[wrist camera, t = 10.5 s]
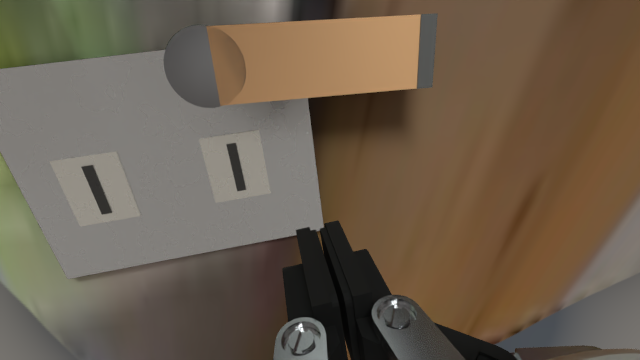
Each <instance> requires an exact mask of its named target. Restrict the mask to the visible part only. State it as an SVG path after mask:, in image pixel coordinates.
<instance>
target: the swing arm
mask: <svg viewBox="0 0 640 360" xmlns="http://www.w3.org/2000/svg"><path fill="white" fill-rule="evenodd" d="M436 27H437V14H421V15H404V16H385V17H367V18H348V19H330V20H311V21H293V22H274V23H256V24H237V25H219V26H207V25H193V26H189V27H186V28H184V29H182V30H180V31H179V32H177V33H176V34H175V35H174V36H173V37H172V38H171V39H170V41H169V43H168V44H167V47H166V49H165V53H164V70H165V74H166V77H167V79H168V82H169V83H170V85H171V87H172V88H173V89H174V91H175V92H176V93H177V94H178V95H179V96H180V97H181V98H183V99H184V100H186V101H187V102H189V103H191V104H193V105H196V106H199V107H204V108H215V107H220V106H223V105H234V104H246V103H257V102H268V101H280V100H291V99H302V98H314V97H325V96H336V95H348V94H359V93H370V92H382V91H393V90H405V89H416V88H417V89H418V88H430V87H432V82H433V69H434V55H435V41H436Z"/></svg>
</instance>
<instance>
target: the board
mask: <svg viewBox="0 0 640 360" xmlns="http://www.w3.org/2000/svg"><path fill="white" fill-rule="evenodd" d="M164 53H165V50H159V51H150V52H141V53H133V54H124V55H116V56H107V57H99V58H90V59H81V60H73V61H64V62H56V63H47V64H39V65H30V66H21V67H13V68H4V69H0V152H1V154H2V156H3V158H4V160H5V162H6V163H7V165H8V167H9V169H10V171H11V173H12V175H13V177H14V179H15V180H16V182H17V184H18V186H19V188H20V190H21V192H22V194H23V196H24V198H25V199H26V201H27V203H28V205H29V207H30V209H31V211H32V213H33V215H34V216H35V218H36V220H37V222H38V224H39V226H40V228H41V230H42V232H43V233H44V235H45V237H46V239H47V241H48V243H49V245H50V247H51V249H52V250H53V252H54V254H55V256H56V258H57V260H58V262H59V264H60V266H61V268H62V269H63V271H64V273H65V275H66V277H67V279H71V278H76V277H81V276H86V275H91V274H96V273H102V272H107V271H112V270H117V269H122V268H128V267H133V266H138V265H143V264H148V263H154V262H159V261H164V260H169V259H174V258H180V257H185V256H190V255H195V254H200V253H206V252H211V251H216V250H221V249H226V248H232V247H237V246H242V245H247V244H252V243H258V242H263V241H268V240H273V239H278V238H284V237H289V236H294V235H297V234H296V230H297V229H302V228H307V227H310V230H315V229H316V231H320V228H324V226H323V218H322V210H321V202H320V193H319V185H318V177H317V169H316V161H315V153H314V145H313V137H312V129H311V120H310V112H309V104H308V98H302V99H291V100H280V101H268V102H257V103H246V104H234V105H223V106H220V107H215V108H204V107H199V106H196V105H193V104H191V103H189V102H187V101H186V100H184V99H183V98H181V97H180V96H179V95H178V94H177V93H176V92H175V91H174V89H173V88H172V87H171V85H170V83H169V82H168V79H167V77H166V74H165V70H164Z"/></svg>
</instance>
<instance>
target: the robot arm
mask: <svg viewBox="0 0 640 360" xmlns="http://www.w3.org/2000/svg"><path fill="white" fill-rule="evenodd" d="M324 226H325V227H324V228H320V234H321V240H322V246H323V250H322V247H321V244H320V241H319V238H318V235H317V232H316V229H315V230H310V227H307V228H302V229H297V230H296V234H297V239H298V244H299V249H300V254H301V259H302V264H299V265H295V266H290V267H286V268H283V269H282V270H283V279H284V288H285V297H286V306H287V314H288V323H287V324H285V325H284V326H283V327H282V328H281V330H280V331H279V333H278V334H277V338H276V342H275V351H274V358H273V360H348V358H347V351H346V345H345V341H346V344H347V347H348V351H349V354H350V357H351V360H640V350H637V349H600V348H597V347H593V346H560V347H538V348H516V349H515V353H509V352H508V351H506V350H504V349H502V348H500V347H498V346H496V345H493V344H490V343H488V342H485V341H482V340H480V339H477V338H474V337H472V336H469V335H466V334H463V333H461V332H458V331H455V330H453V329H450V328H447V327H445V326H442V325H439V324H436V323H434V322H433V321H432V320H431V319H430V318H429V317H428V316H427V314H426V313H425V312H424V311H423V310H422V309H421V307H420V306H419V305H418V304H417V303H416V302H415V301H413V300H412V299H410V298H408V297H406V296H401V295H392V294H391V293H390V291H389V289H388V287H387V285H386V283H385V282H384V280H383V278H382V276H381V274H380V272H379V270H378V269H377V267H376V265H375V263H374V261H373V259H372V258H371V256H370V254H369V252H368V251H367V249H363V250H359V251H355V252H353V251H352V248H351V246H350V244H349V242H348V240H347V238H346V236H345V234H344V231H343V229H342V227H341V225H340V223H339V221H334V222H329V223H325V224H324ZM323 251H324V254H323ZM344 337H345V339H344Z"/></svg>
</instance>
